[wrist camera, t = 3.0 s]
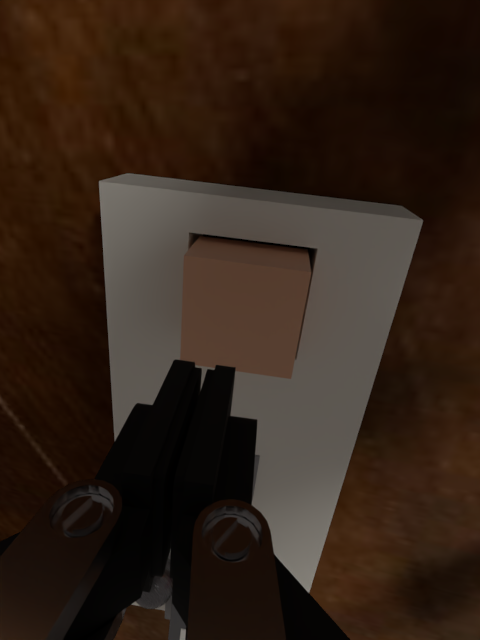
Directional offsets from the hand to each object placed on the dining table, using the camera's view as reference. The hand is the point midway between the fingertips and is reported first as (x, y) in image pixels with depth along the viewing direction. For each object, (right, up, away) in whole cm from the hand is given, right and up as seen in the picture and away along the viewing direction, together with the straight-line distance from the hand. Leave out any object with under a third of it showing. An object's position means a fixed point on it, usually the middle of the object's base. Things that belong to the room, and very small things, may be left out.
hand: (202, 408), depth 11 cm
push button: (+1, +4, +6) cm, 7 cm away
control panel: (+1, -4, +12) cm, 13 cm away
